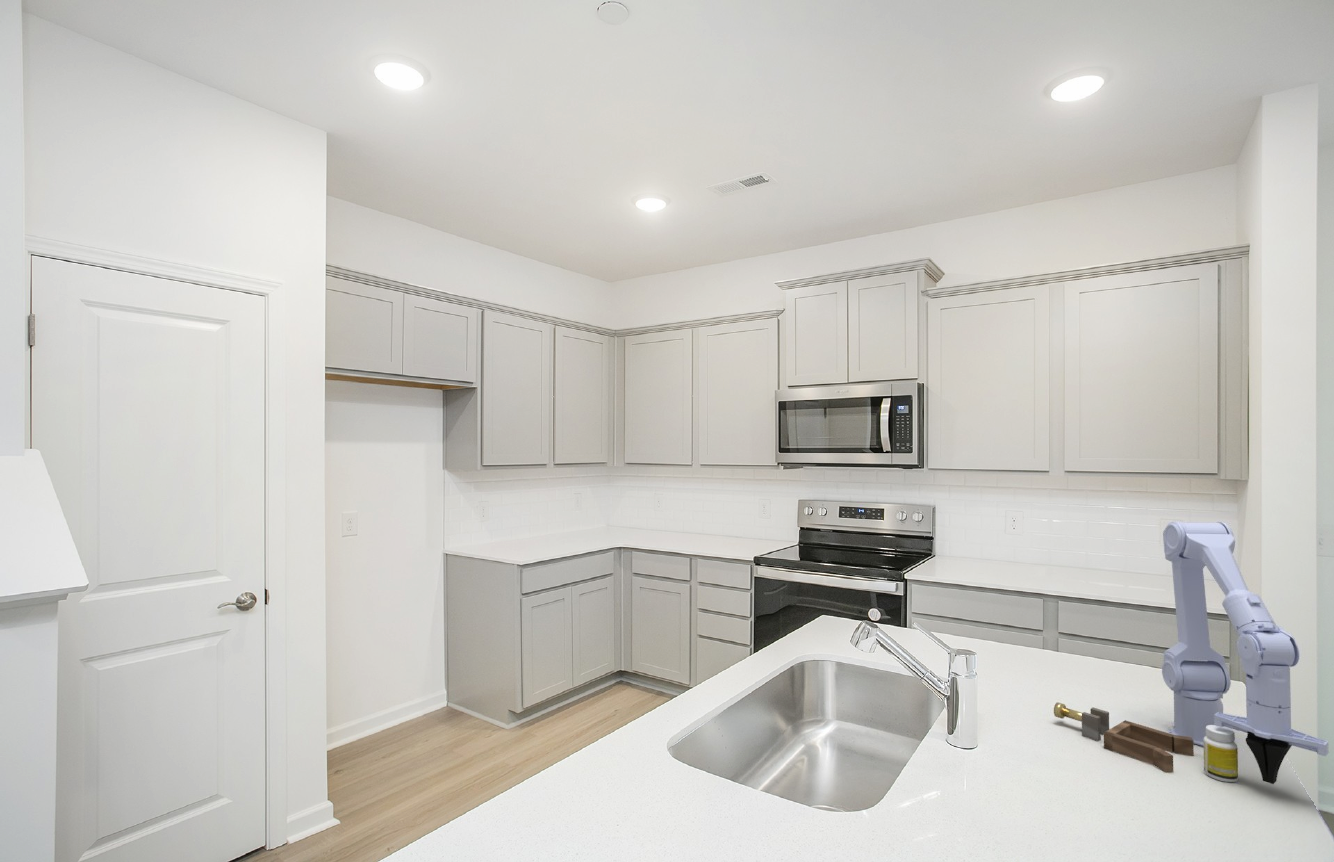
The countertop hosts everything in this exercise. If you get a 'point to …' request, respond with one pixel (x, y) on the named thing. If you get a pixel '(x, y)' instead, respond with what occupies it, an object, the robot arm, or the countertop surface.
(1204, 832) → the countertop surface
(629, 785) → the countertop surface
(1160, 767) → the dock
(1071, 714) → the lock pin
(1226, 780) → the supplement bottle
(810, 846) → the countertop surface
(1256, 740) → the robot arm
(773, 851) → the countertop surface
